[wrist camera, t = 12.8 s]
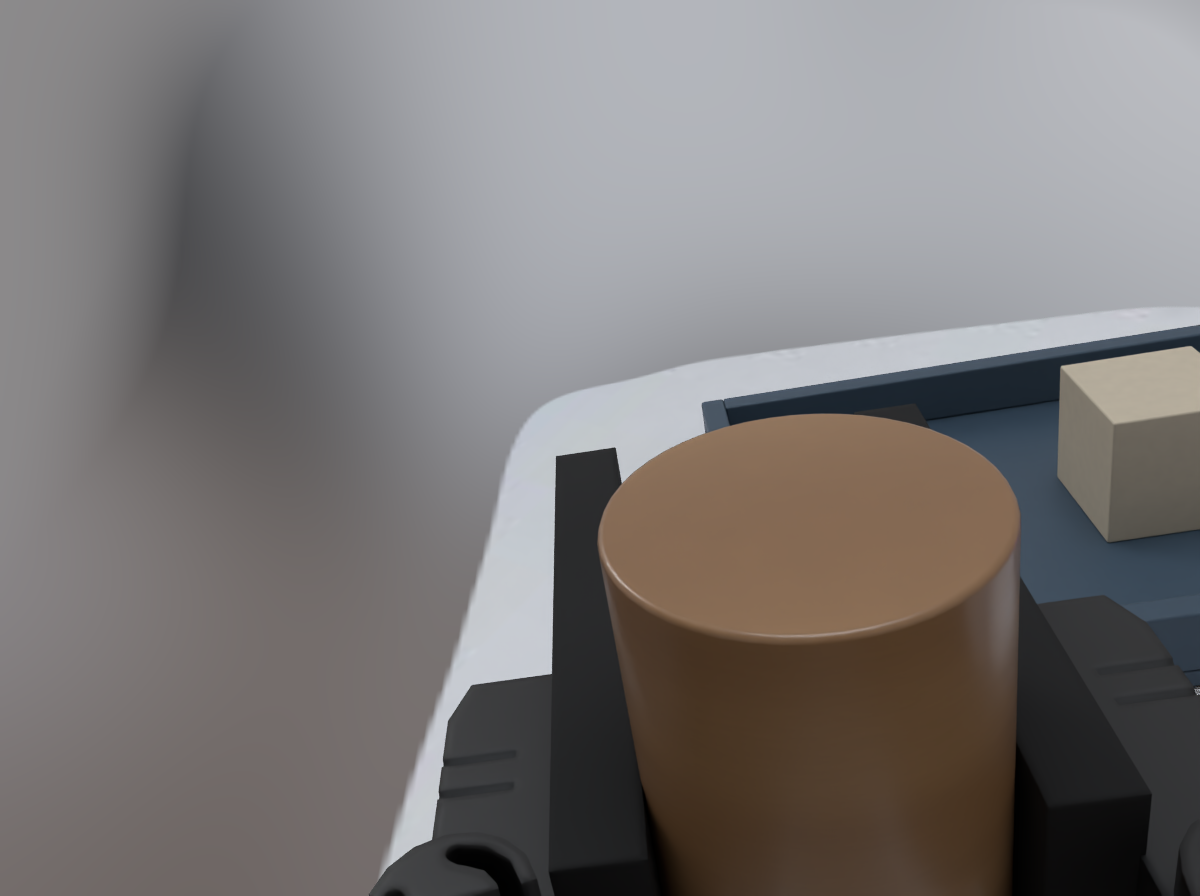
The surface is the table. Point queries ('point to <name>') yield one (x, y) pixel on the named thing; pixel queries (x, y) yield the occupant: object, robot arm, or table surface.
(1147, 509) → the beige cube block
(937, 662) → the wooden rubber stamp
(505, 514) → the table surface
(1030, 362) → the tray
